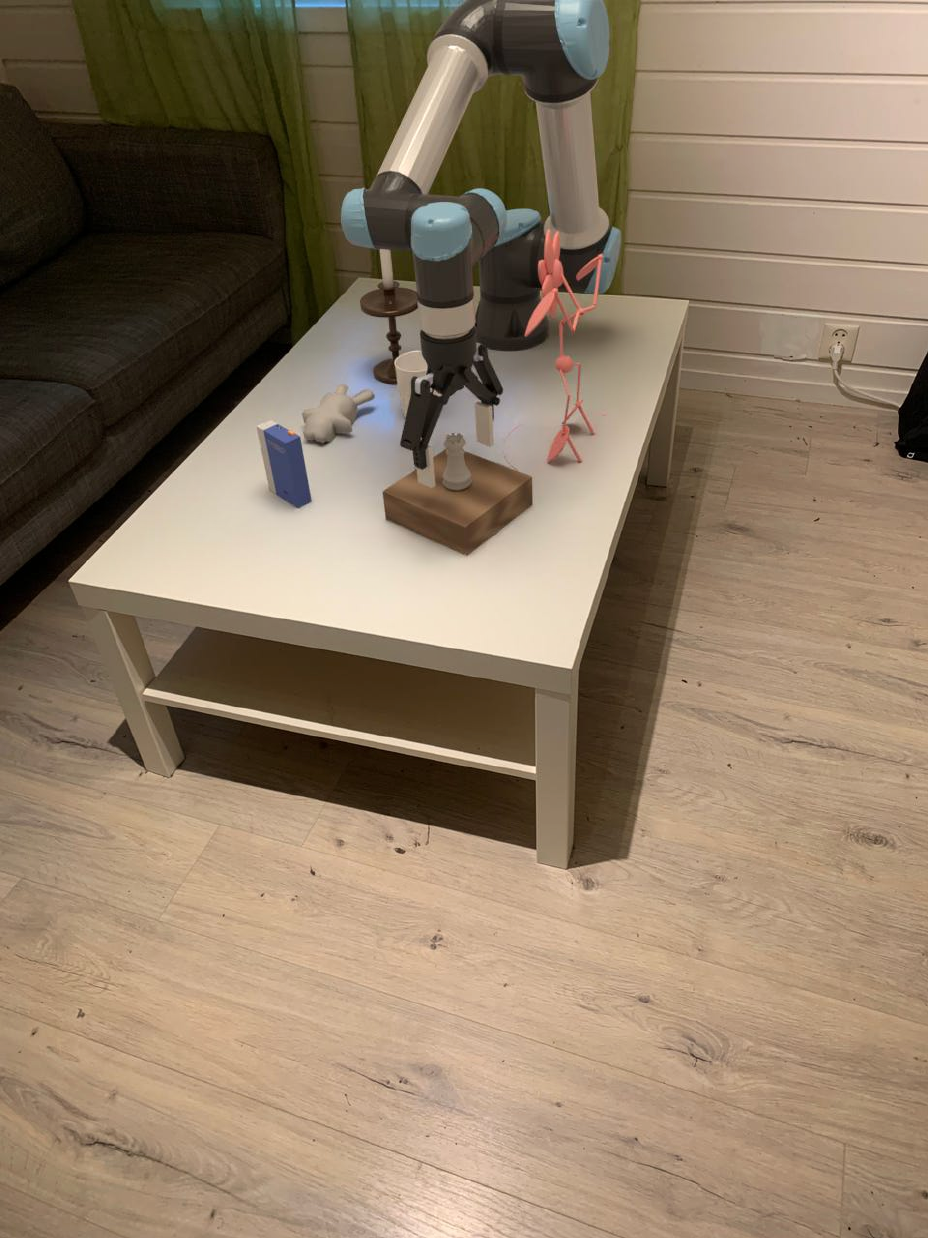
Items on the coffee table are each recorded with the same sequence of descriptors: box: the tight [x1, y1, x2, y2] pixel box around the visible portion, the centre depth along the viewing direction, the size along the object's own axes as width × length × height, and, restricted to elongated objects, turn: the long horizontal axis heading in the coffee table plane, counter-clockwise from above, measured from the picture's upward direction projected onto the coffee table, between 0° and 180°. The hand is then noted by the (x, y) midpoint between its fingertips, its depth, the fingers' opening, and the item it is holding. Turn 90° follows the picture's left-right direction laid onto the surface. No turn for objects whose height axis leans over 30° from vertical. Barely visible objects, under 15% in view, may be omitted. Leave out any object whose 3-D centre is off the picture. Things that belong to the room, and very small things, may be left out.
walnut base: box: [382, 447, 533, 556], centre depth 152 cm, size 16×16×5 cm
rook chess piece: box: [442, 432, 472, 491], centre depth 148 cm, size 4×4×8 cm
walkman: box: [256, 419, 312, 509], centre depth 156 cm, size 8×3×12 cm, turn 44°
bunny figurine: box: [301, 383, 376, 444], centre depth 175 cm, size 10×5×15 cm
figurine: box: [500, 229, 607, 471], centre depth 157 cm, size 15×26×35 cm, turn 162°
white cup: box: [394, 350, 442, 418], centre depth 175 cm, size 8×8×10 cm
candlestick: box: [359, 249, 418, 385], centre depth 179 cm, size 11×11×35 cm
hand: (456, 463), depth 148 cm, fingers open, 13 cm apart
